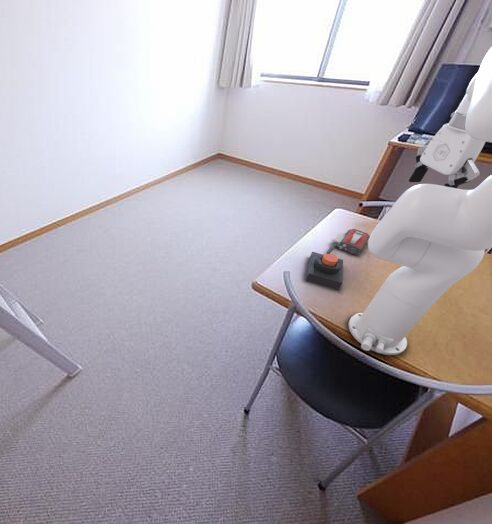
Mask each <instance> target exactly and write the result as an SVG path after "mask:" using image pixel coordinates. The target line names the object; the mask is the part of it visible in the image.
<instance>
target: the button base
mask: <svg viewBox="0 0 492 524" xmlns="http://www.w3.org/2000/svg"><path fill="white" fill-rule="evenodd" d="M324 254H325V253H323V254H322V253H319V252H316V251H312V252H311V254H310V256H309V259H308V263H307V269H306V275H305V282H309V283H312V284H316V285H319V286H322V287H326V288H328V289H332V290H335V291H339V290H340V288H341V287H342V285H343V274H344V273H343V272H344V259H342V258H338V261H337V263H336V265H335V266H328V265H325V264H324V263H322V261H321V260H322V258H323V256H324Z"/></svg>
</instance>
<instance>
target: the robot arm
mask: <svg viewBox="0 0 492 524" xmlns="http://www.w3.org/2000/svg"><path fill="white" fill-rule="evenodd" d="M465 91H466V92H465V95H464V97H463V99H462V100H461V101H460V102H459V105H458V107H457V108H456V110H455V111H453V112H452V113H451V114H450V120H449V122H448V123H444V124H443V125H442V127H440V129H439V130H438V131H437V132H436V133H435V135H434V136H433V138H432V139H431V140H430V142H429V143H428V144H427V145H425V146H420V147H418V148H417V153H416V156H415V161H416V163H415V164H414V167H415V169H414V171H413V172H412V173H411V176H410V178H409V179H408V182H409V183H419V184H416V185H413V186H411V187H409V188H407V189H406V190H405V191H404V192H403V193H402V194H401V195H400V196H399V197H398V199H396V201H395V202H394V203H393V205H391V206H390V208H389V209H388V211H387V212H386V213H385V215H383V217H382V218H381V219H380V221H378V223H377V224H376V226H375V227H374V228H373V230H372V231H371V234H369V236H370V237H369V239H368V241H367V249H368V251H369V253H370V254H371V255H372V256H373V257H375V258H376V259H379V260H383V261H386V262H389V263H393V264H396V265H399V266H401V267H399V268H397V269H395V270H393V271H392V272H391V273H390V274H389V275H388V276H387V278H386V279H385V281H384V282H383V283H382V285H381V287H380V288H379V289H378V291H377V292H376V293H375V295H374V296H373V298H372V299H371V301H370V302H369V304H368V306H367V307H366V308H365V310H364V311H363V312H359V313H355V314H353V315H352V316H351V317H350V319H349V321H348V330H349V332H350V334H351V335H352V337H353V338H354V339H355V340H356V341H357V342H358V343H359V344H360V348H361V349H362V350H363V351H366V352H369V351H372V352H374V353H377V354H380V355H385V356H396V355H400V354H401V353H403V352H404V351H405V350H406V349H407V348H408V339H407V335H408V334H409V333H410V332H411V331H412V330H413V329H414V328H415V326H416V325H418V323H420V322H421V320H422V318H423V317H425V315H426V314H427V313H428V312H429V310H430V309H432V308H433V306H434V305H435V304H436V303H437V302H438V300H440V298H442V296H444V294H445V293H446V292H447V291H448V290H450V288H452V286H453V285H455V284H456V283H457V282H459V281H460V280H461V279H463V278H464V277H466V276H467V275H468V274H470V273H472V272H473V270H475V269H476V268H477V267H478V266H479V264H480V263H481V262H482V260H483V259H484V256H485V252H486V250H488V249H492V174H491V175H489V176H488V177H487V178H485V179H484V180H483V181H482V182H481V183H480V184H479V185H477V186H476V187H475V188H474V189H461V188H459V186H462V185H464V184H468V183H470V182H471V181H472V180H474V179H476V178H477V177H479V176H480V175H481V172H480V170H479V168H478V167H477V165H476V164H475V162H476V160H477V158H478V157H479V155H480V153H481V151H482V150H483V148H484V146H485V144H486V143H491V144H492V46H491V47H490V48H489V49H488V51H487V53H486V54H485V56H484V58H483V59H482V62H481V63H480V66H479V69H478V71H477V73H475V75H474V76H473V77H472V79H471V80H470V82H469V84H468V86H467V88H466V90H465ZM429 168H430V169H432V170H433V171H436V172H438V173H439V174H442V175H444V176H445V175H446V176H447V178H448V182H447V183H444V185H440V184H435V183H434V184H433V183H420V182H422V180H423V178H424V177H425V176H426V174H427V172H428V170H429Z"/></svg>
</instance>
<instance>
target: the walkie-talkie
mask: <svg viewBox="0 0 492 524" xmlns="http://www.w3.org/2000/svg"><path fill="white" fill-rule="evenodd" d="M369 238H370V234H369V233H368V232H365V231H362V230H359V229H356V228H350V229H349V230H347V231H346V233H345V234H339V235H337V236H336V237H335V238H334V239H333V240H332V242H331V246H330V248H329V249H328V250H327V251H326V254H332V252H333V250H334V249H335V248H336V247H337V248H338V249H339V250H342V251H344V252H347V253H350V254H352V255H354V256H359V255H360V254H361V253H362V251H363V250H364V248H365V245H366V244H367V243H368V241H369Z"/></svg>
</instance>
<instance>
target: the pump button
mask: <svg viewBox="0 0 492 524" xmlns="http://www.w3.org/2000/svg"><path fill="white" fill-rule="evenodd" d="M323 254H324V256H323V258H322V260H321V261H322V263H324V264H325V265H328V266H335V265H336V263H337V261H338V259H339V257H338V256H336V255H335V254H332V253H330V254H327V253H323Z"/></svg>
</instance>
